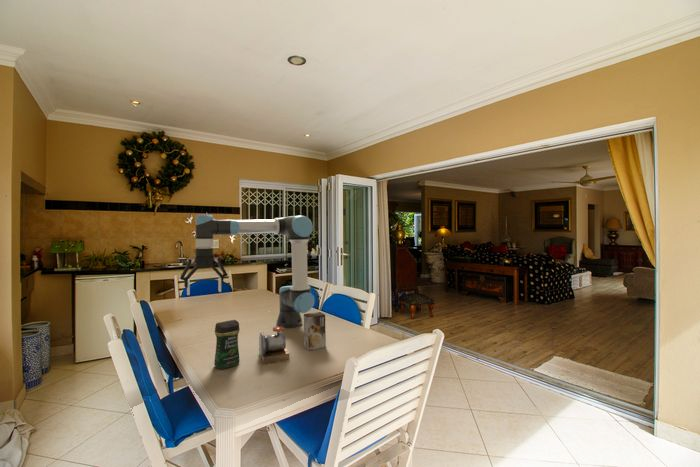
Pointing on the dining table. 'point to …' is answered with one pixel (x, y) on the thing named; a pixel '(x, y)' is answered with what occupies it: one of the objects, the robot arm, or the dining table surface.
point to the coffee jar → (226, 344)
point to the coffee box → (314, 331)
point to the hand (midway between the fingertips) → (204, 293)
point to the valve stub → (273, 347)
